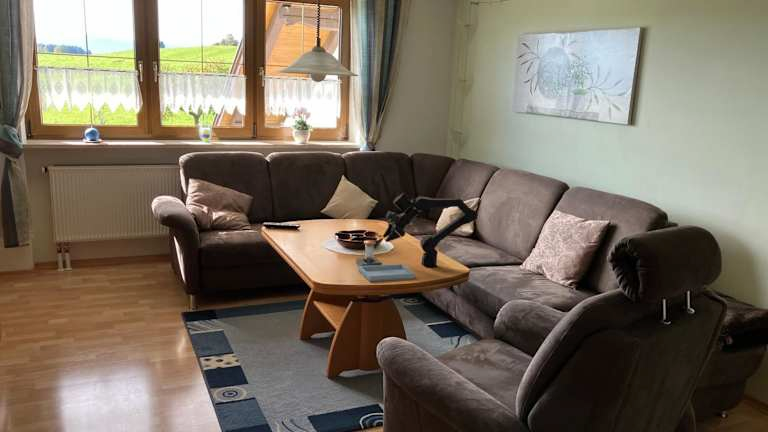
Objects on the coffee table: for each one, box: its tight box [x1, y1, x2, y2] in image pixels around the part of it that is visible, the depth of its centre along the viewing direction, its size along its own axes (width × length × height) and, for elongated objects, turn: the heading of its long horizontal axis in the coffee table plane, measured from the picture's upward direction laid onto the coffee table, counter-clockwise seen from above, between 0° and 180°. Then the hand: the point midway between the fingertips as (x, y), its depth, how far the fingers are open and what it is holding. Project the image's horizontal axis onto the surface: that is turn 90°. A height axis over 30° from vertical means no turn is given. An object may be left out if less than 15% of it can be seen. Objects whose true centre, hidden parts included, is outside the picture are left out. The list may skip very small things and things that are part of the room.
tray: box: [358, 263, 416, 283], centre depth 291 cm, size 22×16×3 cm
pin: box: [363, 239, 376, 262], centre depth 304 cm, size 6×6×12 cm
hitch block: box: [355, 256, 383, 267], centre depth 305 cm, size 10×10×2 cm
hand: (384, 239), depth 304 cm, fingers open, 9 cm apart
